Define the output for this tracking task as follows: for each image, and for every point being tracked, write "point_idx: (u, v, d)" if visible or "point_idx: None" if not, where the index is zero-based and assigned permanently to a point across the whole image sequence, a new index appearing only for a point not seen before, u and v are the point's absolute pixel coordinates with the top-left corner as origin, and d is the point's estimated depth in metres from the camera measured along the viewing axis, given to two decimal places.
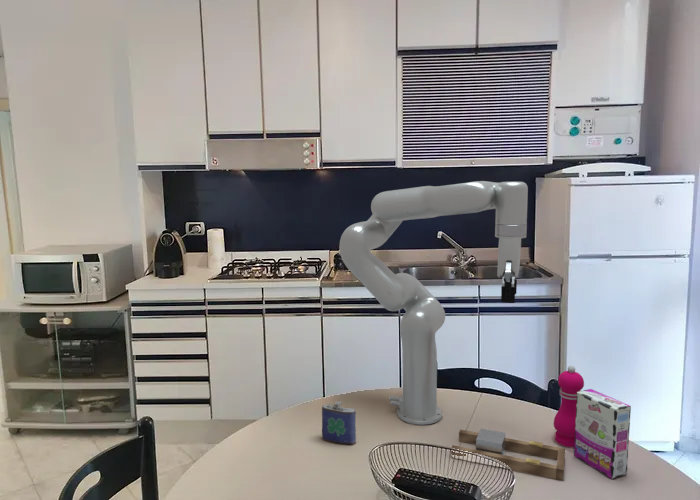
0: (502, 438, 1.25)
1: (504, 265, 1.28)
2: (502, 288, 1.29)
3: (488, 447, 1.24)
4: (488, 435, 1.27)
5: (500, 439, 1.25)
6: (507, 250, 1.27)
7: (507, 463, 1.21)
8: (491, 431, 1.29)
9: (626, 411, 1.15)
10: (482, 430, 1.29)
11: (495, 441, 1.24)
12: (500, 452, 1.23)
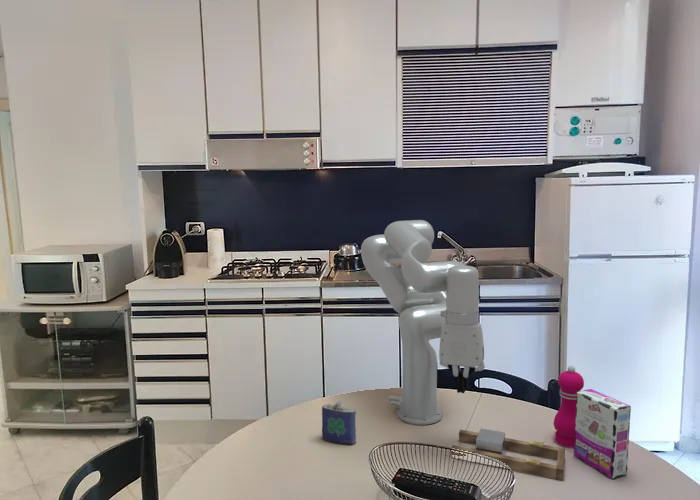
0: (502, 438, 1.25)
1: (482, 353, 1.23)
2: (463, 379, 1.26)
3: (488, 447, 1.24)
4: (489, 435, 1.27)
5: (500, 439, 1.25)
6: (482, 337, 1.24)
7: (507, 463, 1.21)
8: (491, 431, 1.29)
9: (626, 411, 1.15)
10: (482, 430, 1.29)
11: (495, 441, 1.24)
12: (500, 452, 1.23)
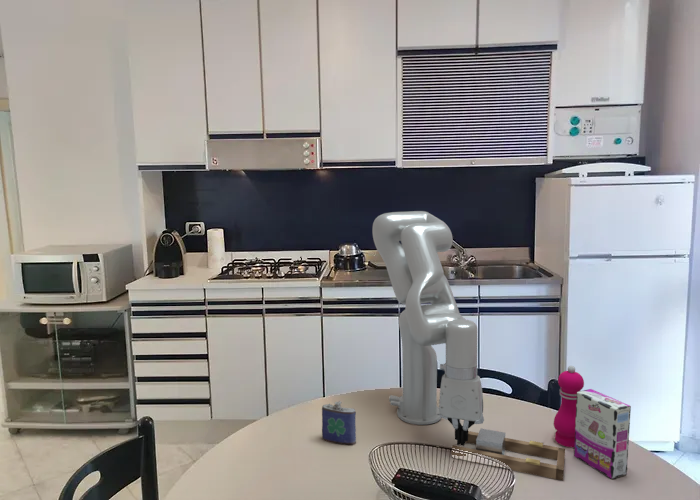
0: (502, 438, 1.25)
1: (481, 406, 1.25)
2: (463, 432, 1.27)
3: (488, 447, 1.24)
4: (488, 435, 1.27)
5: (500, 439, 1.25)
6: (481, 390, 1.25)
7: (507, 463, 1.21)
8: (491, 431, 1.29)
9: (626, 411, 1.15)
10: (481, 430, 1.29)
11: (495, 441, 1.24)
12: (500, 452, 1.23)
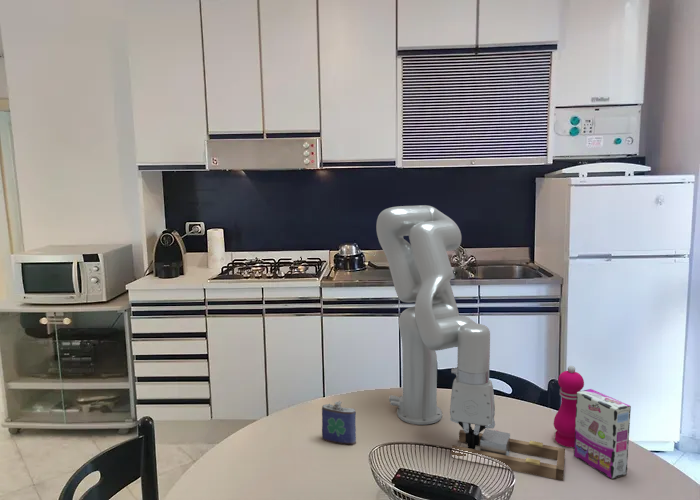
0: (506, 439, 1.25)
1: (493, 411, 1.24)
2: (474, 436, 1.27)
3: (492, 448, 1.24)
4: (493, 436, 1.26)
5: (505, 440, 1.24)
6: (493, 395, 1.24)
7: (507, 463, 1.21)
8: (496, 431, 1.28)
9: (626, 411, 1.15)
10: (486, 430, 1.29)
11: (499, 442, 1.23)
12: (504, 453, 1.22)
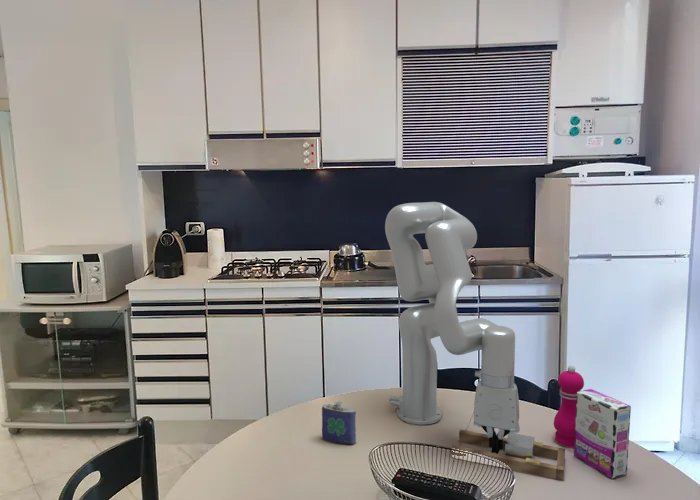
0: (532, 443, 1.23)
1: (518, 415, 1.22)
2: (498, 441, 1.24)
3: (517, 452, 1.21)
4: (518, 439, 1.24)
5: (530, 444, 1.22)
6: (518, 399, 1.22)
7: (507, 463, 1.21)
8: (520, 435, 1.26)
9: (626, 411, 1.15)
10: (510, 434, 1.27)
11: (525, 446, 1.21)
12: (530, 457, 1.20)
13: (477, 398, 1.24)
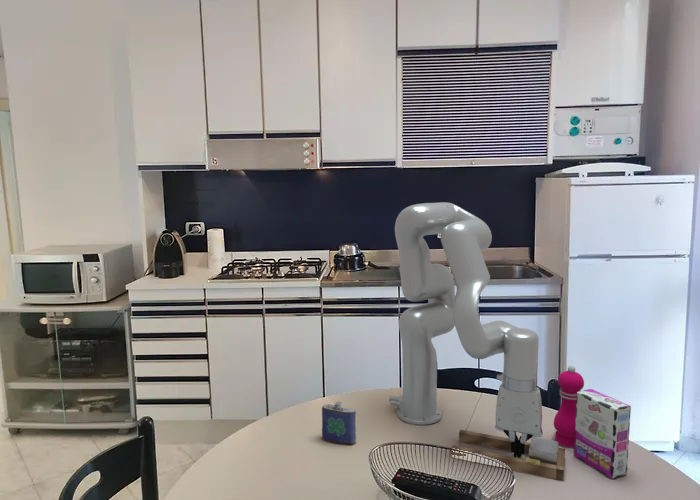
0: (556, 447, 1.21)
1: (541, 419, 1.20)
2: (520, 445, 1.22)
3: (542, 457, 1.19)
4: (541, 444, 1.22)
5: (554, 449, 1.20)
6: (541, 403, 1.20)
7: (507, 463, 1.21)
8: (543, 440, 1.24)
9: (626, 411, 1.15)
10: (533, 438, 1.25)
11: (549, 451, 1.19)
12: (555, 462, 1.18)
13: (499, 402, 1.22)
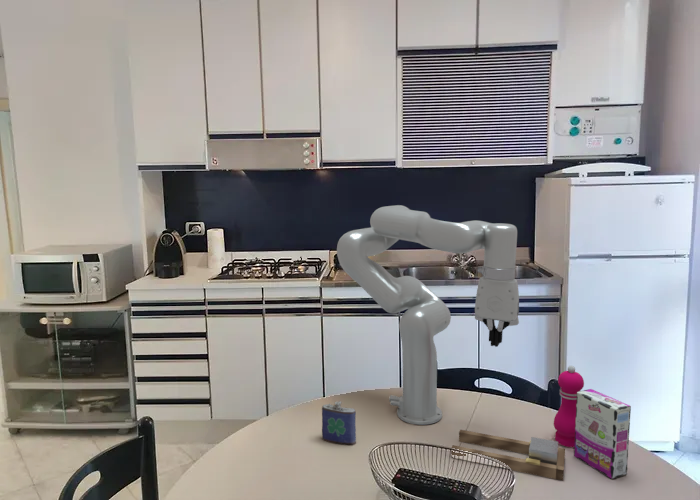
0: (556, 447, 1.21)
1: (517, 308, 1.28)
2: (497, 333, 1.30)
3: (542, 457, 1.19)
4: (541, 444, 1.22)
5: (555, 449, 1.20)
6: (518, 292, 1.28)
7: (507, 463, 1.21)
8: (543, 440, 1.24)
9: (626, 411, 1.15)
10: (533, 438, 1.25)
11: (549, 451, 1.19)
12: (555, 462, 1.18)
13: (478, 291, 1.30)
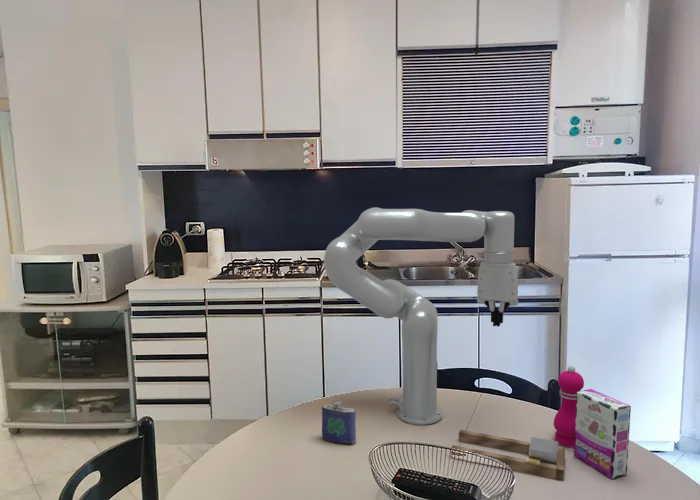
0: (556, 447, 1.21)
1: (517, 289, 1.37)
2: (499, 314, 1.39)
3: (542, 457, 1.19)
4: (541, 444, 1.22)
5: (555, 449, 1.20)
6: None
7: (507, 463, 1.21)
8: (543, 440, 1.24)
9: (626, 411, 1.15)
10: (533, 438, 1.25)
11: (549, 451, 1.19)
12: (555, 462, 1.18)
13: (480, 275, 1.39)
